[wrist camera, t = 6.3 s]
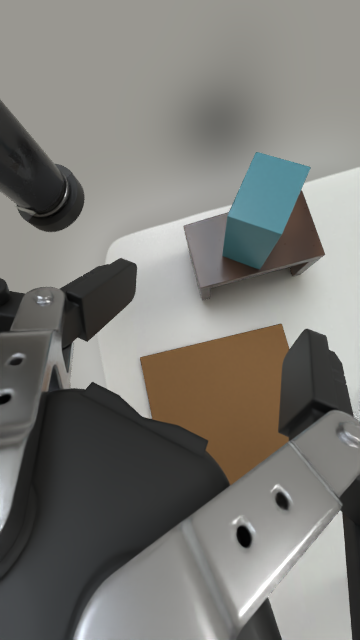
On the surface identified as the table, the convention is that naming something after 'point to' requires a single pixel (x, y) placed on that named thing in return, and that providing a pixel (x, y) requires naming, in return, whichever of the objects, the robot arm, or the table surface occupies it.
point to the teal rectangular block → (262, 208)
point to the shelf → (214, 269)
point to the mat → (223, 395)
